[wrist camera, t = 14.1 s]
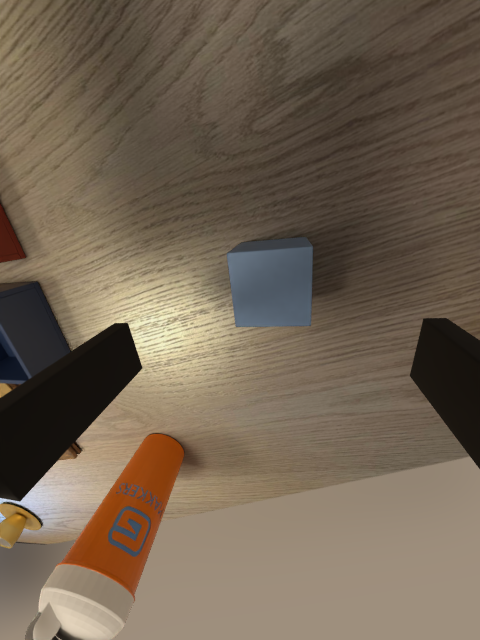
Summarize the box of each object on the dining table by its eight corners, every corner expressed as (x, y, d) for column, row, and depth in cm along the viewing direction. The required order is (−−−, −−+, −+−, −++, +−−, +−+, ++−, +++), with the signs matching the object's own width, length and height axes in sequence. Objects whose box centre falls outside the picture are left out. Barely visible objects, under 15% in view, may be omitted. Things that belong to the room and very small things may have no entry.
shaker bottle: (179, 473, 40) (95, 680, 23) (133, 450, 40) (10, 644, 22) (198, 446, 36) (114, 673, 19) (147, 420, 36) (10, 628, 18)
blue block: (240, 242, 22) (226, 253, 17) (306, 236, 21) (313, 246, 16) (246, 301, 25) (235, 327, 19) (305, 299, 23) (311, 326, 18)
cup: (21, 501, 58) (-3, 528, 53) (51, 528, 62) (31, 555, 57) (-9, 501, 62) (-34, 526, 57) (21, 527, 66) (0, 552, 61)
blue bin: (-32, 285, 31) (-93, 300, 26) (37, 281, 28) (-16, 296, 23) (12, 357, 35) (-34, 382, 30) (74, 358, 33) (36, 385, 28)
